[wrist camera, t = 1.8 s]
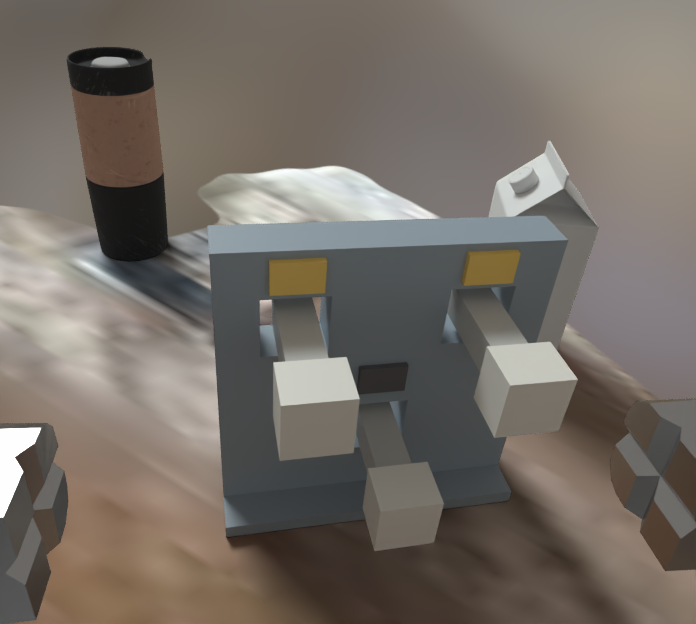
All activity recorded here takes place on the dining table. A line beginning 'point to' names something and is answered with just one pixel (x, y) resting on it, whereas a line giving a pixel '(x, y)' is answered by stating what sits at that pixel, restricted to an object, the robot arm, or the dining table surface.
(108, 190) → the travel mug
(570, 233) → the milk carton
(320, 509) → the panel
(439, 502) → the button bottom
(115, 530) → the dining table surface
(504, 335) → the button top right
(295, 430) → the button top left
